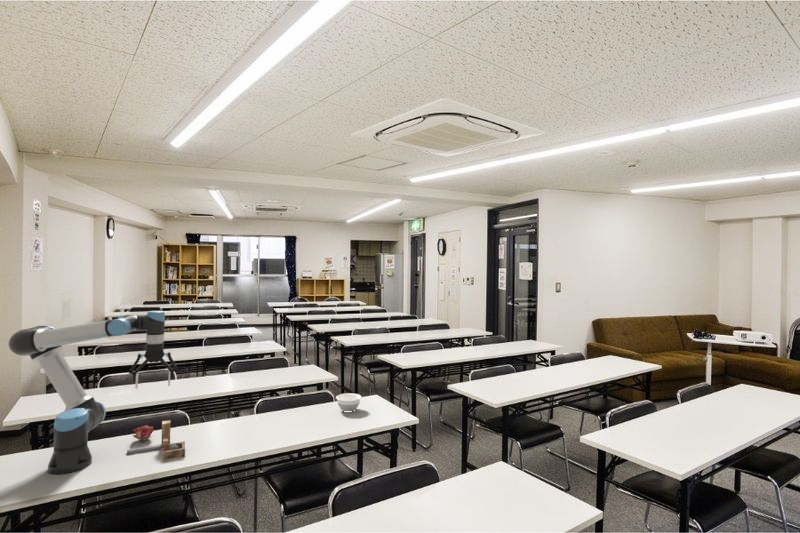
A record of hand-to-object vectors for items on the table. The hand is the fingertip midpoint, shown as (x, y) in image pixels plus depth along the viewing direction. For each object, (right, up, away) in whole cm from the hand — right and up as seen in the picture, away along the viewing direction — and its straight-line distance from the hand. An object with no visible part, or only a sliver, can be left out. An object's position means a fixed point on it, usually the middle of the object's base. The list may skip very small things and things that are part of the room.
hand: (153, 386), depth 201 cm
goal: (+14, -30, -7) cm, 34 cm away
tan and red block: (+8, -29, -4) cm, 31 cm away
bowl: (+88, -32, +59) cm, 110 cm away
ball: (+14, -28, -7) cm, 31 cm away
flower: (-10, -30, +8) cm, 33 cm away
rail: (0, -30, -3) cm, 30 cm away
